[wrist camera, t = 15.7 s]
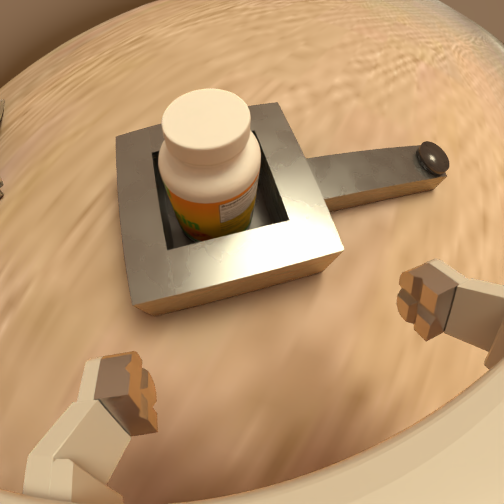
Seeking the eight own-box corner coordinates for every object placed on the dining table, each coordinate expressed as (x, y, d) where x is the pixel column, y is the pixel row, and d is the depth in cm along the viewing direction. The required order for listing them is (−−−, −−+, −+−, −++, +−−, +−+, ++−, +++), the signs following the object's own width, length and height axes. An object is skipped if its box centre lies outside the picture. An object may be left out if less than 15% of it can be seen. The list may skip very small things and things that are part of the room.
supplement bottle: (163, 208, 21) (125, 114, 12) (221, 169, 22) (218, 67, 13) (208, 264, 20) (187, 186, 11) (268, 218, 21) (292, 122, 12)
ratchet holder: (153, 316, 19) (132, 305, 15) (132, 171, 22) (115, 136, 18) (456, 228, 23) (485, 207, 18) (400, 127, 26) (418, 98, 22)
